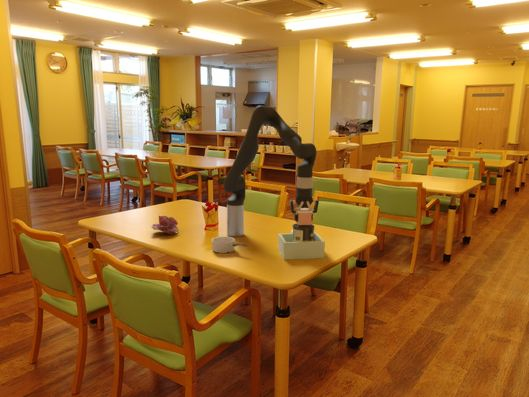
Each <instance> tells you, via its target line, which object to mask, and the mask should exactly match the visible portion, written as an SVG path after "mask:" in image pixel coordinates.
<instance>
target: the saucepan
mask: <svg viewBox="0 0 529 397" xmlns="http://www.w3.org/2000/svg"><path fill="white" fill-rule="evenodd" d="M235 241H236V239H235V237H233V236H216V237H213V238H211V242H212V243H211V244H212V246H211V247H212V251H213V252H215V253H217V252H219V253H218V254H228V253H227V252H229V253H232V252H233V251H234V250H235V247H237V246H240V247H248V245H249V244H247V243H246V244H245V243H241V242H235Z"/></svg>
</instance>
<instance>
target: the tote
mask: <svg viewBox="0 0 529 397" xmlns="http://www.w3.org/2000/svg"><path fill="white" fill-rule="evenodd" d="M277 240H278V243H277V245H278V246H277V248H278V251H279V253H280V255H281V257H282V259H283V260H305V259H307V260H309V259H325V250H326V249H325V247H326V244H325V243H326V242H325V240H324V239H323V238H322V237H321V236H320V234H318V233H317V232H314V241H303V242H293V233H291V232H290V233H289V232H288V233H278V239H277Z"/></svg>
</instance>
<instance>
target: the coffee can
mask: <svg viewBox="0 0 529 397" xmlns="http://www.w3.org/2000/svg"><path fill="white" fill-rule="evenodd" d="M292 230H293V242H303V241H314V233H315V225H314V224H312V223H311V225H298V224H297V223H294V224H293V225H292Z"/></svg>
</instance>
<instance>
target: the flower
mask: <svg viewBox="0 0 529 397" xmlns="http://www.w3.org/2000/svg"><path fill="white" fill-rule="evenodd" d="M177 225H179V223H178V221H177V219H175V218H174V217H172V216H169V217H168V216H166V215H158V223H152V226H151V228H152V229H153V230H157V231H161V232H162V233H163V232H164V233H166V234H168V235H169V234H171V235H173V234H176V232H177V231H178V232H179V228H178V226H177Z"/></svg>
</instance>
